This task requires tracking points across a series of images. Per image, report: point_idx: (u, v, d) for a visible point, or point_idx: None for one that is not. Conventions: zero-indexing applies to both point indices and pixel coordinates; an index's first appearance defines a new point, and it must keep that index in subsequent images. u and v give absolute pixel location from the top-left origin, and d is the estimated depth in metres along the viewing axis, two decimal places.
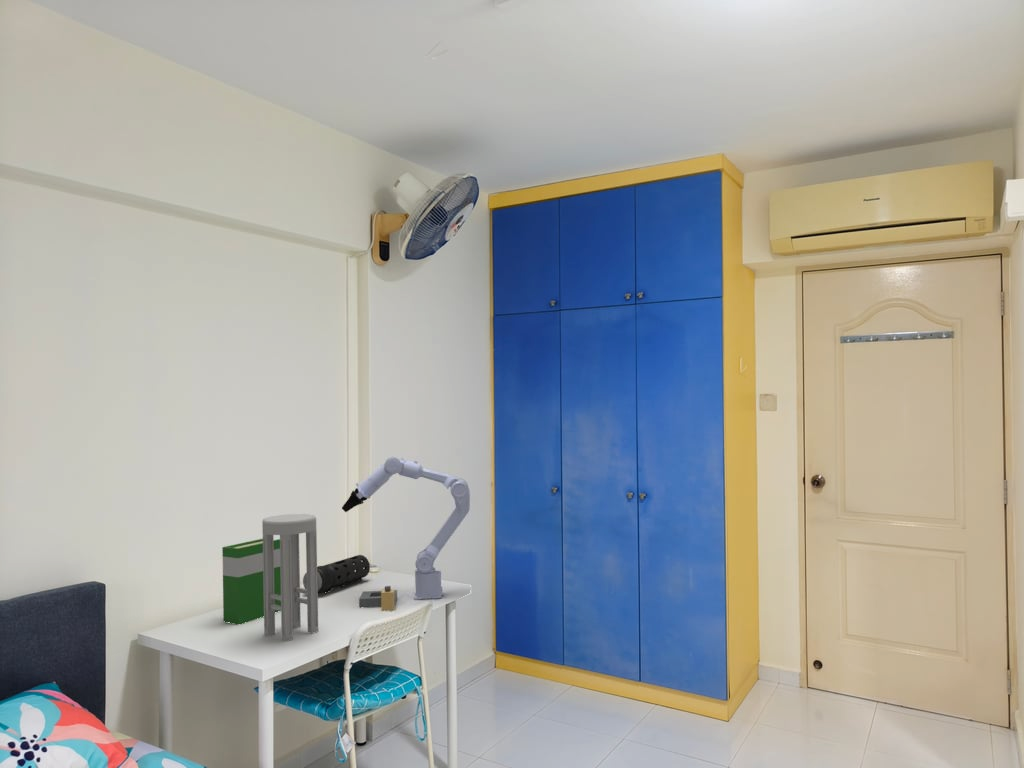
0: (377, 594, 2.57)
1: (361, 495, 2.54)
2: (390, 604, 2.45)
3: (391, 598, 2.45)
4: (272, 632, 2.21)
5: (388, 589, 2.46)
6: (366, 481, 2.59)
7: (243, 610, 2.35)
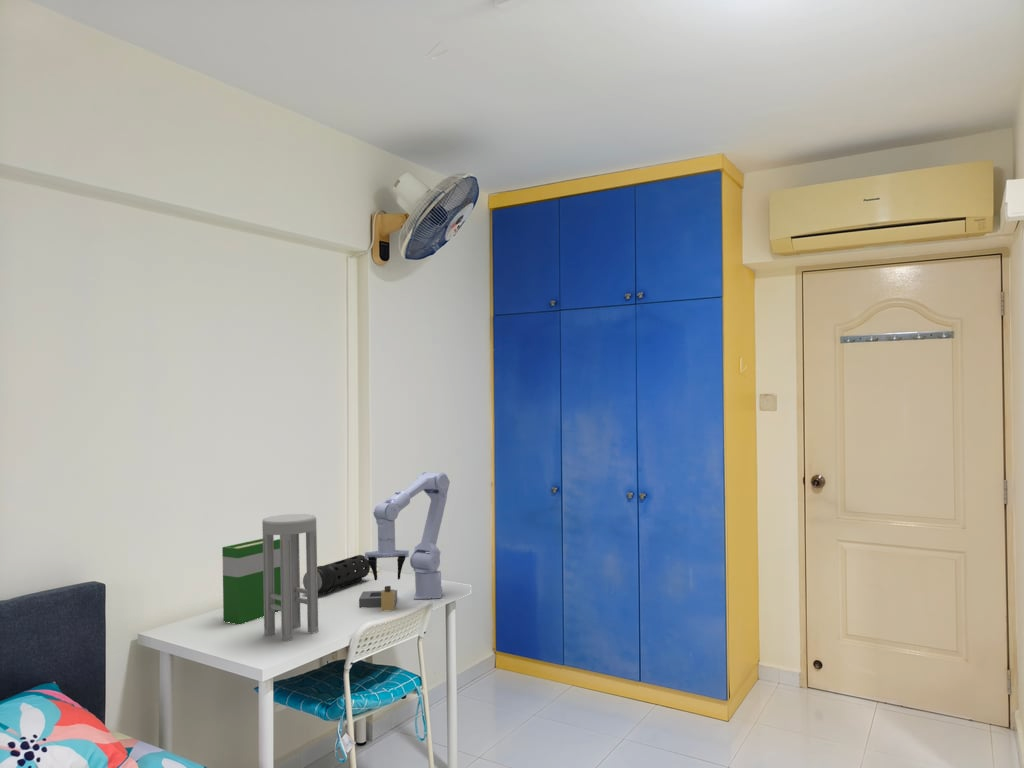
0: (377, 594, 2.57)
1: (408, 552, 2.48)
2: (390, 604, 2.45)
3: (391, 598, 2.45)
4: (272, 632, 2.21)
5: (388, 589, 2.46)
6: (391, 543, 2.45)
7: (243, 610, 2.35)
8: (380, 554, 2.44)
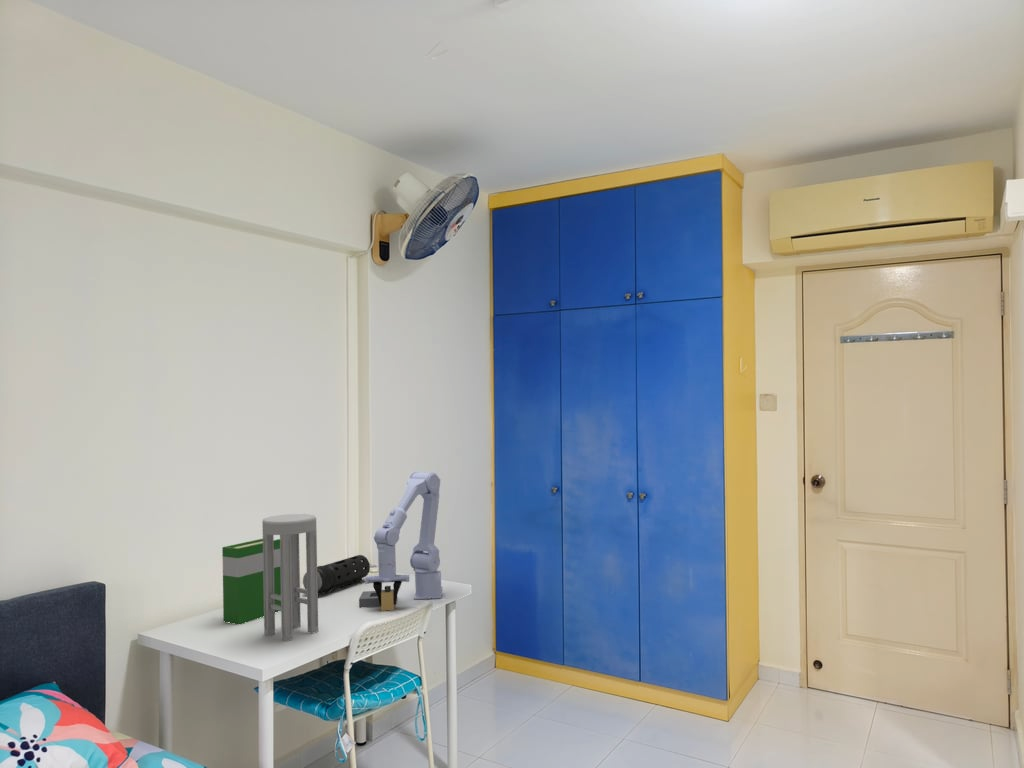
0: None
1: None
2: (390, 604, 2.45)
3: (391, 598, 2.45)
4: (272, 632, 2.21)
5: (388, 589, 2.46)
6: (392, 568, 2.45)
7: (243, 610, 2.35)
8: (381, 579, 2.44)
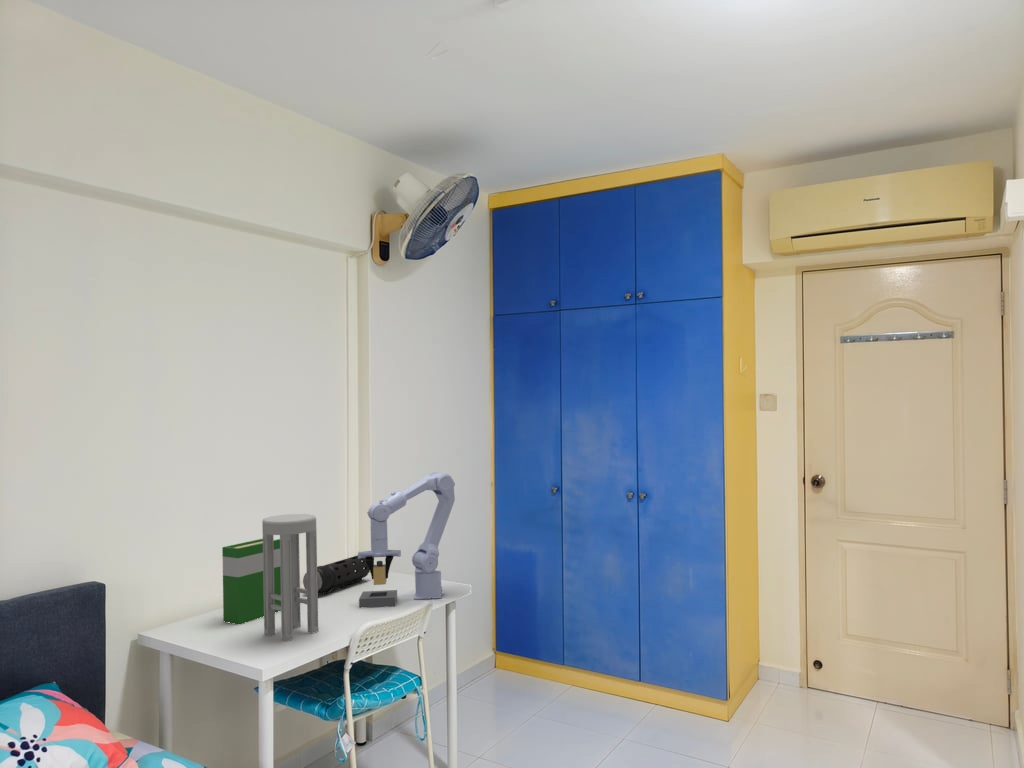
0: (377, 594, 2.57)
1: (400, 552, 2.54)
2: (382, 579, 2.51)
3: (383, 572, 2.51)
4: (272, 632, 2.21)
5: (380, 564, 2.52)
6: (384, 543, 2.51)
7: (243, 610, 2.35)
8: (373, 554, 2.50)
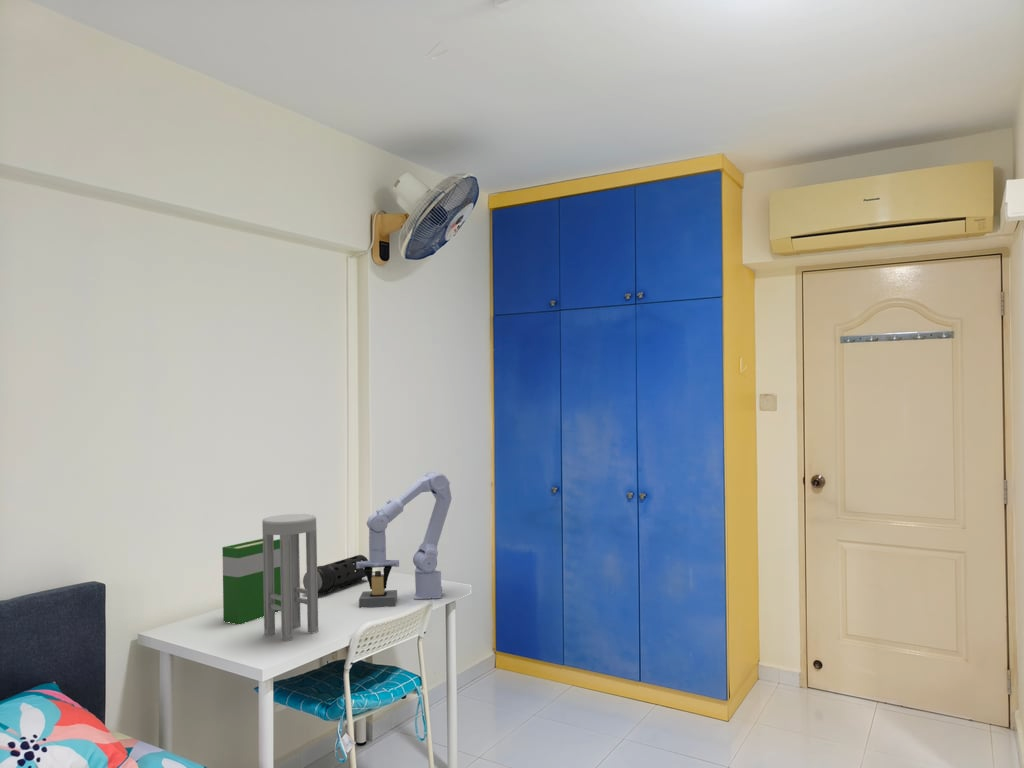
0: None
1: None
2: (380, 589, 2.52)
3: (381, 582, 2.52)
4: (272, 632, 2.21)
5: (378, 574, 2.53)
6: (382, 553, 2.53)
7: (243, 610, 2.35)
8: (371, 564, 2.52)
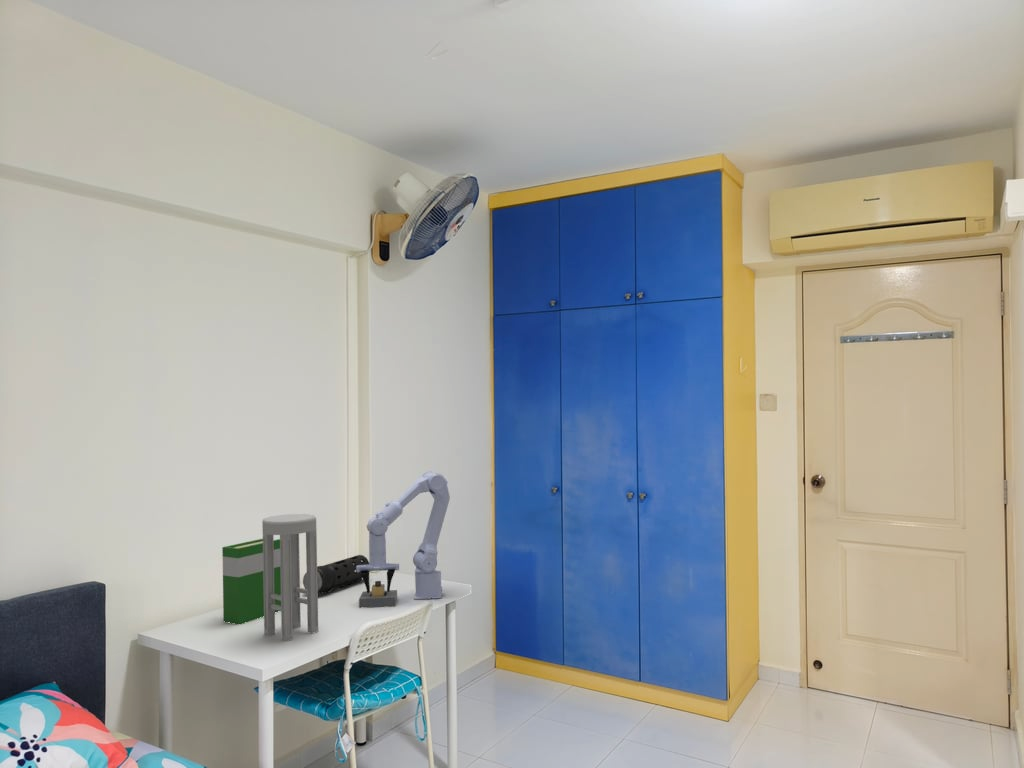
0: None
1: None
2: None
3: (381, 593, 2.52)
4: (272, 632, 2.21)
5: (378, 584, 2.53)
6: (382, 557, 2.53)
7: (243, 610, 2.35)
8: (371, 567, 2.52)
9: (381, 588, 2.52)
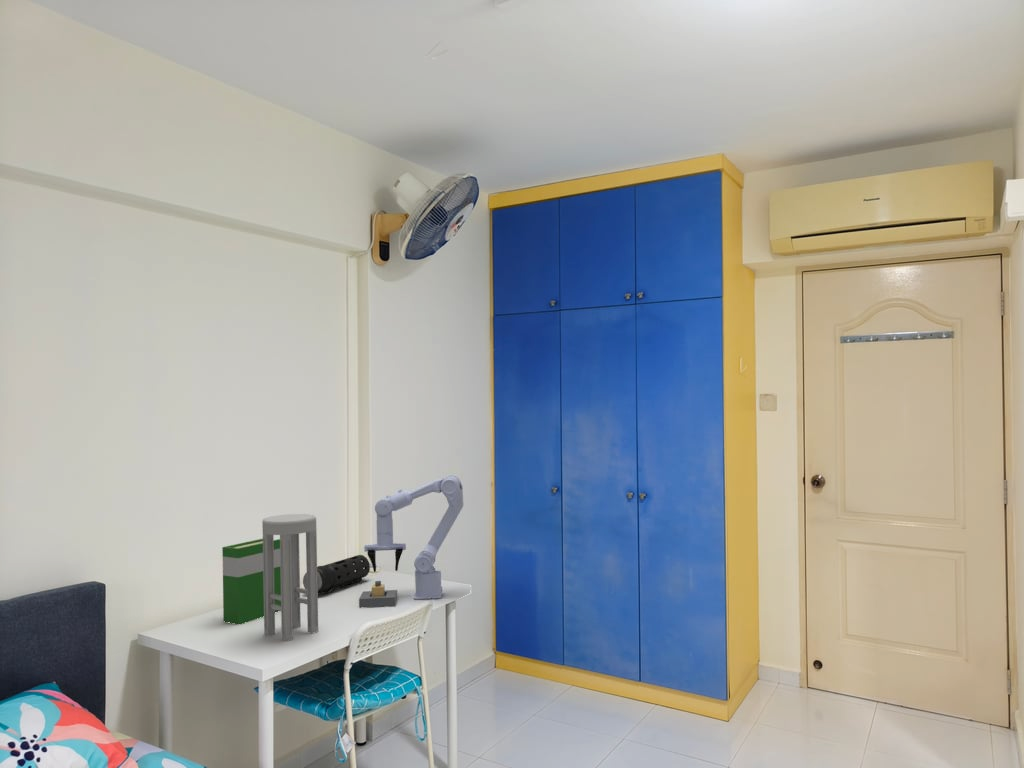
0: None
1: (405, 545, 2.63)
2: None
3: (381, 593, 2.52)
4: (272, 632, 2.21)
5: (378, 584, 2.53)
6: (389, 537, 2.60)
7: (243, 610, 2.35)
8: (379, 547, 2.60)
9: (381, 588, 2.52)
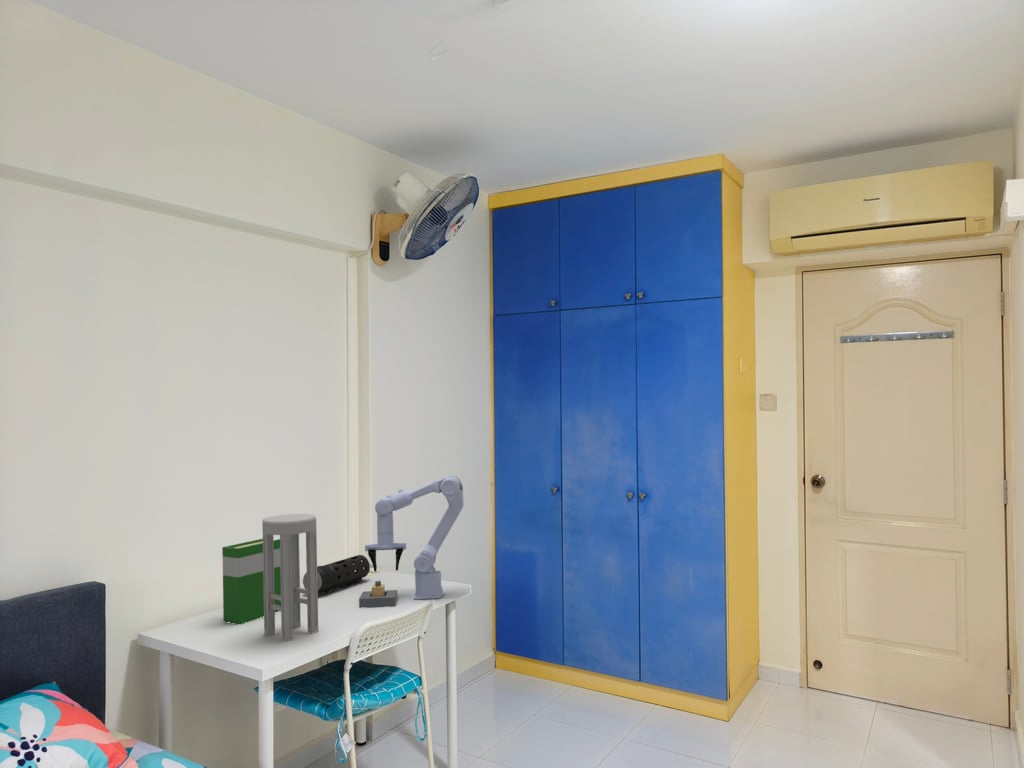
0: None
1: None
2: None
3: (381, 593, 2.52)
4: (272, 632, 2.21)
5: (378, 584, 2.53)
6: (390, 537, 2.61)
7: (243, 610, 2.35)
8: (379, 547, 2.60)
9: (381, 588, 2.52)
